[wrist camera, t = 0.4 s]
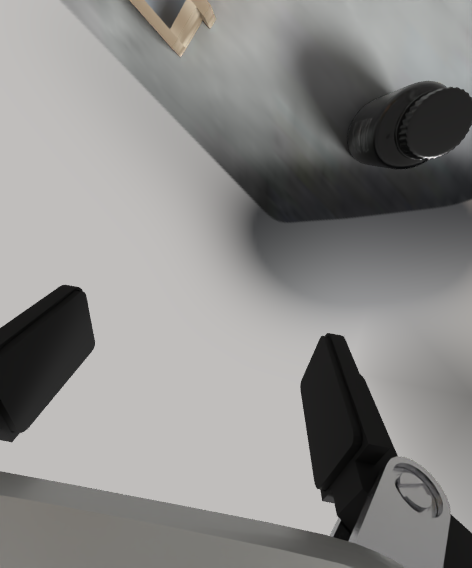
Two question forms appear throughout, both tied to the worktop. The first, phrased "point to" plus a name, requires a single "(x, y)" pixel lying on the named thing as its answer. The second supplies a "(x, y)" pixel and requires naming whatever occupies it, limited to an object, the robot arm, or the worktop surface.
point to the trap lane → (176, 19)
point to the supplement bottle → (410, 125)
